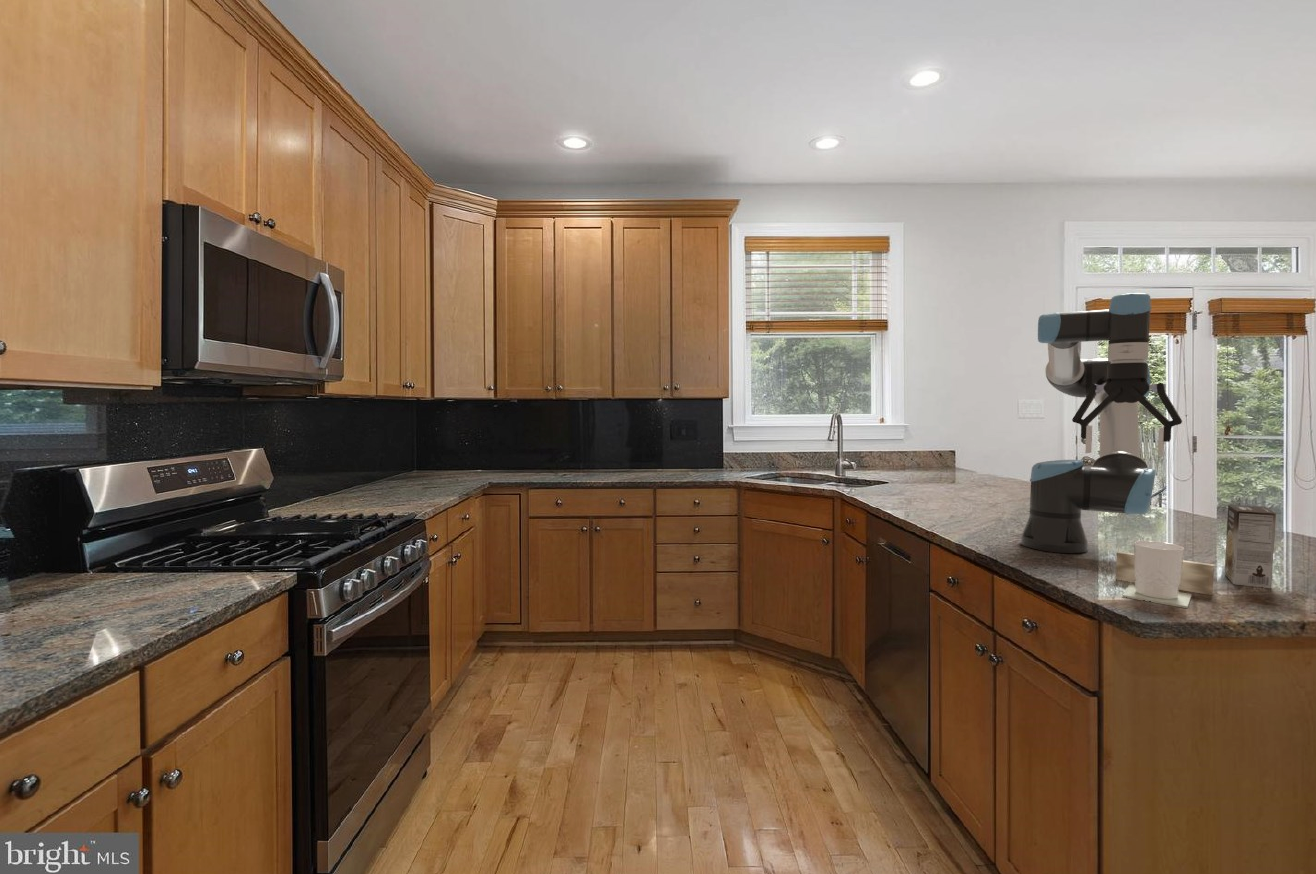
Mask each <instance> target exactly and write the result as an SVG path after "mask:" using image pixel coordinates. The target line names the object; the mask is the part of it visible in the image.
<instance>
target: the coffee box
mask: <svg viewBox="0 0 1316 874" xmlns="http://www.w3.org/2000/svg"><path fill="white" fill-rule="evenodd" d="M1276 519H1277V513H1275V512H1274V511H1272V510H1271V509H1269V508H1268V507H1266V506H1256V505H1255V506H1253V505H1252V506H1251V505H1238V504H1237V505H1236V504H1228V505H1227V518H1226V521H1227V522H1226V536H1225V537H1226V539H1225V540H1226V542H1225V543H1226V544H1225V556H1224V557H1225V559H1224V560H1225V561H1224V562H1225V563H1224V575H1225V576H1226V577H1227V579H1229V580H1230V582H1231V583H1232V585H1236V586H1246V587H1252V586H1253V588H1254V587H1255V588H1261V587H1263V589H1264V588H1265V589H1270V588H1271V589H1272V582H1273V566H1274V565H1273V564H1274V549H1275V540H1276V539H1275V535H1276V524H1277V523H1276Z"/></svg>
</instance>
